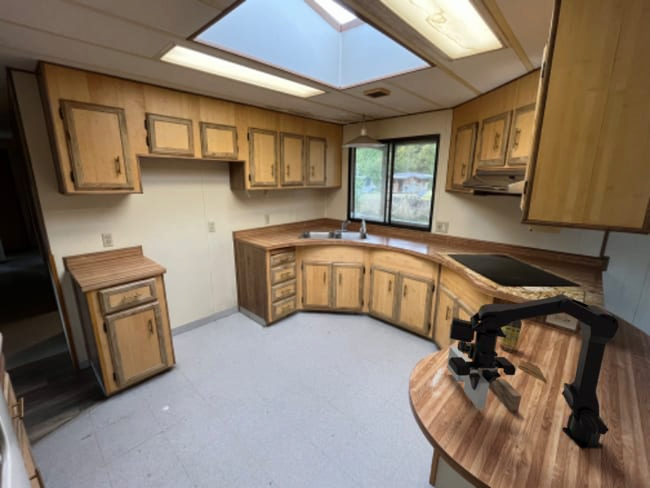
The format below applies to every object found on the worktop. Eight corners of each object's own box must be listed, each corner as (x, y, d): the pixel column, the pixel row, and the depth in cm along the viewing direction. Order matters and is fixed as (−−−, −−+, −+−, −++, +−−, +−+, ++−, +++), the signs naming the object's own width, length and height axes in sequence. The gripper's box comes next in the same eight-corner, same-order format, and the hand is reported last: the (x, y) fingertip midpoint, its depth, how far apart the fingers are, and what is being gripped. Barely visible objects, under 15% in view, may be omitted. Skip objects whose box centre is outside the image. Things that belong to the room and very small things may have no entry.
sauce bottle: (499, 350, 125) (507, 308, 121) (498, 343, 130) (506, 303, 126) (517, 354, 122) (525, 312, 118) (515, 347, 128) (523, 306, 123)
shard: (546, 384, 105) (547, 380, 104) (522, 378, 107) (523, 374, 107) (536, 367, 115) (537, 363, 114) (514, 362, 117) (515, 358, 117)
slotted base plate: (517, 411, 91) (521, 395, 90) (510, 411, 91) (513, 395, 89) (481, 371, 110) (483, 357, 109) (474, 371, 110) (477, 357, 109)
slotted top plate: (484, 408, 89) (489, 383, 87) (477, 408, 89) (481, 383, 87) (453, 367, 108) (456, 346, 106) (446, 367, 108) (449, 346, 106)
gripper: (496, 331, 96) (489, 372, 99) (443, 331, 95) (438, 372, 98) (521, 351, 85) (512, 395, 88) (461, 351, 84) (454, 396, 87)
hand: (477, 389), depth 91 cm, fingers closed on slotted top plate, 2 cm apart
